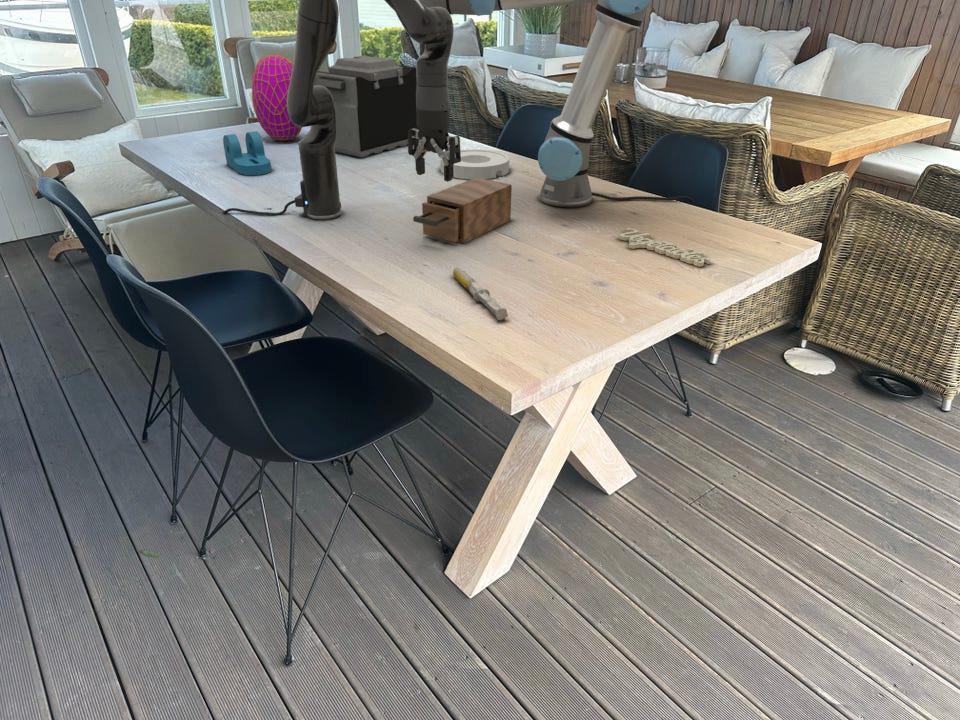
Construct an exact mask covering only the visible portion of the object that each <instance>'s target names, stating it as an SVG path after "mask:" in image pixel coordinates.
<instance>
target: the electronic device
mask: <svg viewBox="0 0 960 720" xmlns="http://www.w3.org/2000/svg"><path fill="white" fill-rule="evenodd" d="M314 86H324V87H326V88H327V89H328V90H329V91H330V93H331V95H332V97H333V100H334V105H335V115H336V142H335V153H340V154H344V155H348V156H353V157H357V158H362V159H363V158H366V157H367V158H368V157H369V155H371V154H375V155H377V154H381V153H382V152H383V151H391V150H395V149H396V148H397V147H405V146H408V130H409V129H414V128H418V127H417V115H416V88H417V83H416V66H408V65H400V64H396V62H395V60H394V59H393V58H385V57H377V56H367V55H356V56H353V57H350V58H349V57H343V58H342V57H341V58H337V59H336V60H335V63H334V64H333V65H330V66H329V67H328V72H327V71H320V70H318V73H317V75H316V78H315V82H314ZM418 129H419V128H418ZM419 141H420V139H419Z"/></svg>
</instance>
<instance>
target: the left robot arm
mask: <svg viewBox="0 0 960 720" xmlns="http://www.w3.org/2000/svg"><path fill="white" fill-rule="evenodd" d="M383 1H384V2H385V3H386V4H387V5H388V6H389V7H390V8H391V9H392V10H393V11H394V12H395V14H396V16H397V18H398V20H399V22H400V23H401V26H402V27H403V28H404V31H405V32H406V33H407V35H408V36H409V37H410V38H411V40H414V41H415V42H416V43H418V44H419V43H420V44H425V51H424V53H423V55H422V56H421V55H420V56H419V57H418V58H417V59H416V62H415V67H416V83H417V88H416V115H417V127H418V128H419V129H418V128H414V129H409V130H408V144H407V153H408V155H409V156H412V157H413V158H414V161H415V164H414V165H415V172H416V174H417V175H418V176H422V175H425V174H426V158H425V156H426V153H427V152H428V153H429V152H430V153H433V154H437V156H438V158H439V159H440V158H442V160H443V162H444V164H445V165H444V174H443V181H444V182H447V183H448V182H451V181H452V180H453V179H454V177H453V176H454V172H453V166H454V164H455V163H459V162H461V151H460V150H461V137H460V136H459V135H452V136H451V135H449V134H450V133H449V128H450V127H451V126H450V125H451V124H450V123H451V122H450V121H451V119H450V117H451V116H450V115H451V114H450V113H451V112H450V91H449V66H448V64H449V59H450V56H451V51H452V45H453V42H454V41H453V40H454V22H453V18H452V16H451V14H450V13H449V12H448V11H447V10H446V9H445V8H443V7H440V6H435V7H425V6H424V5H423V4H422V3H421V2H420V0H383ZM339 16H340V9H339V4H338V0H298V7H297V17H296V34H295V35H296V37H295V45H294V46H295V47H294V53H293V62H292V63H293V68H292V74H291V79H290V84H289V89H288V95H287V111H288V115H289V118H290V120H291V121H292V123H293V124H294V125H296V126H298V127H302V128H307V127H310V129H309V130H308V132H307V134H306V135H304V136H303V137H302V138H300V140H299V141H298V152H299V159H300V167H301V175H302V180H301V181H300V183H299V186H300V194H299V195H297V196H295V197H294V200H291V201H288V202H287V203H285V204H284V208H283V210H282V211H279V212H270V211H269V212H267V211H257V210H247V209H242V208H237V207H230V208H227V209H226V210H224V211H222V215H226V214H228V213H229V212H233V211H234V212H240V213H245V214H253V215H260V216H282V215H284V214H285V213H286V212H287V210H288V208H289V206H291V205H292V204H294V205H295V207H296V208H302V209H303V216H304V217H307V218H309V219H313V220H330V219H336V218H338V217H340V216H341V215H342V209H341V208H342V202H341V197H340V189H339V178H338V166H337V158H336V152H335V142H336V115H335V105H334V100H333V97H332V95H331V93H330V91H329V90H328V89H327V88H326V87H324V86H314V82H315V78H316V75H317V73H318V71H320V69H321V67H322V65H323V64H324V62H325V61H326V59H327V57H329V54H330V53H331V51H332V49H333V47H334V45H335V42H336V39H337V35H338V34H337V33H338V25H339V18H340V17H339ZM419 139H420V140H419ZM455 157H456V158H455Z"/></svg>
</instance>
